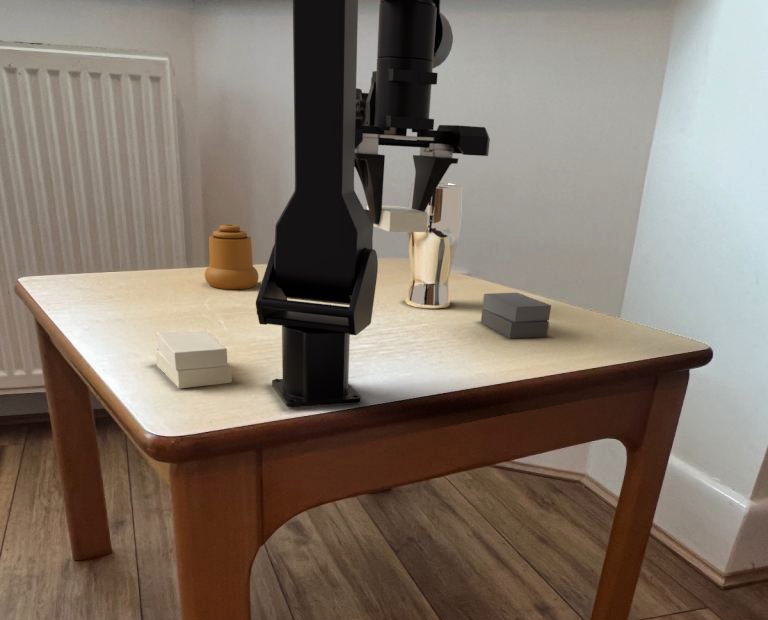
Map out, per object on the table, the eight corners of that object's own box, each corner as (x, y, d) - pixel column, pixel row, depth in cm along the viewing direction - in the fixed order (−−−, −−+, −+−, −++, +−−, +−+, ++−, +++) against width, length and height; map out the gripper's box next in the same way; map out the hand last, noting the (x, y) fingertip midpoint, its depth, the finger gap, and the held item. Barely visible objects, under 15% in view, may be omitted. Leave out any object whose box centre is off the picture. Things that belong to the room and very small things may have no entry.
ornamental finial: (267, 283, 108) (243, 292, 102) (221, 278, 110) (195, 286, 104) (266, 225, 105) (241, 230, 98) (218, 220, 107) (191, 225, 100)
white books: (232, 383, 67) (231, 348, 66) (178, 389, 65) (175, 353, 63) (206, 360, 73) (204, 328, 71) (155, 365, 70) (152, 332, 69)
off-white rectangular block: (426, 232, 81) (428, 212, 80) (389, 232, 79) (390, 211, 78) (401, 224, 86) (402, 206, 86) (365, 224, 85) (366, 205, 84)
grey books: (548, 336, 88) (553, 306, 87) (509, 338, 87) (513, 307, 85) (516, 321, 95) (520, 292, 93) (479, 322, 93) (482, 293, 92)
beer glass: (393, 304, 100) (400, 182, 93) (415, 296, 106) (423, 181, 99) (440, 312, 97) (451, 187, 90) (460, 303, 103) (472, 185, 96)
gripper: (451, 72, 85) (439, 217, 93) (294, 57, 79) (294, 215, 86) (500, 67, 76) (482, 228, 83) (327, 49, 70) (324, 226, 77)
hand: (395, 224), depth 83 cm, fingers closed on off-white rectangular block, 4 cm apart
